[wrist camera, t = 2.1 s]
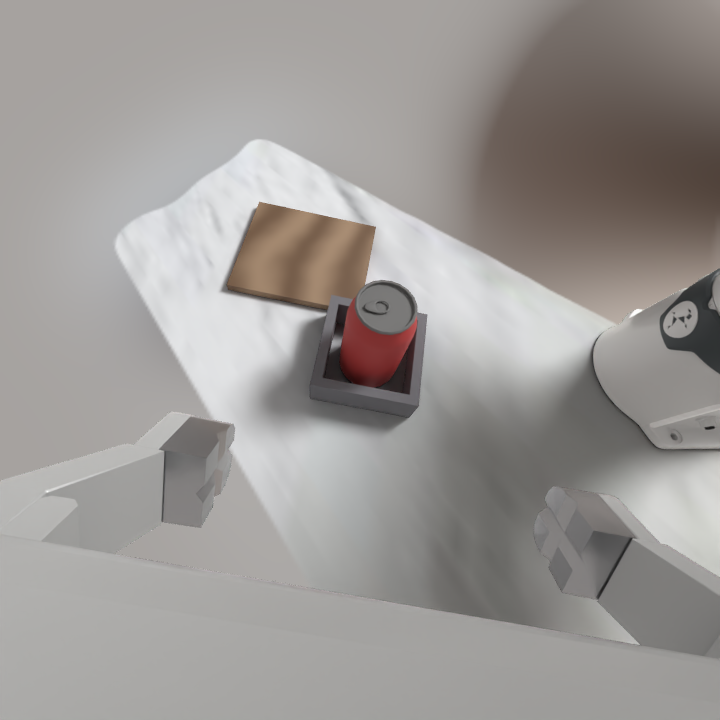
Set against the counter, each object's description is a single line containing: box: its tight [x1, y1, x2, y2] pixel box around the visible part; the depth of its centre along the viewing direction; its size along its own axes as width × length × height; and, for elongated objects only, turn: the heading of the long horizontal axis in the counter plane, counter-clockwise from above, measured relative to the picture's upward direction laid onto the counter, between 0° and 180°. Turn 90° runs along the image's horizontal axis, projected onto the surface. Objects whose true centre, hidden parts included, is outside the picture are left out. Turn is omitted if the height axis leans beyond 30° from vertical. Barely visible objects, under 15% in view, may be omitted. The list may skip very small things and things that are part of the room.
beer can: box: [339, 280, 417, 388], centre depth 38 cm, size 7×7×12 cm
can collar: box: [310, 295, 427, 418], centre depth 41 cm, size 11×11×4 cm
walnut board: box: [227, 202, 376, 310], centre depth 48 cm, size 16×14×1 cm
